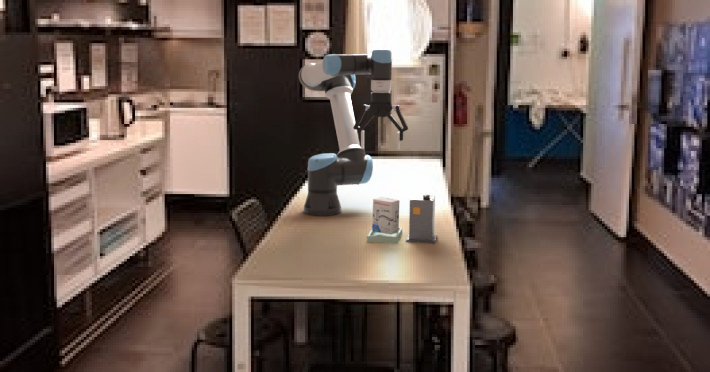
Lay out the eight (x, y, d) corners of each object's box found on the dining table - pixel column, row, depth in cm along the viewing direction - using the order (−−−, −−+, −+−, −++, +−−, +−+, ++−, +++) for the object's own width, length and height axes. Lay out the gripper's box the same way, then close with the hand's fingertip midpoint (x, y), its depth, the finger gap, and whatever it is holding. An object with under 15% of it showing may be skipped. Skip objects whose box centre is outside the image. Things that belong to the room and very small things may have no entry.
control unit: (405, 241, 272) (406, 196, 269) (409, 234, 281) (409, 191, 278) (434, 243, 270) (435, 197, 267) (437, 236, 279) (438, 192, 276)
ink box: (371, 231, 278) (371, 198, 276) (379, 228, 282) (380, 196, 280) (391, 234, 273) (391, 201, 271) (399, 232, 277) (400, 199, 275)
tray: (367, 241, 272) (367, 235, 271) (373, 231, 286) (373, 226, 285) (396, 243, 270) (397, 237, 270) (402, 233, 284) (402, 227, 283)
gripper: (346, 91, 287) (345, 149, 291) (413, 93, 283) (412, 151, 287) (349, 90, 295) (349, 146, 299) (416, 91, 290) (414, 148, 294)
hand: (380, 149), depth 293 cm, fingers open, 13 cm apart
